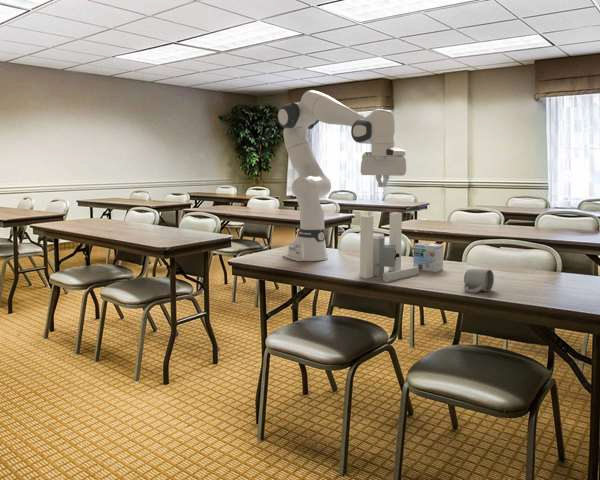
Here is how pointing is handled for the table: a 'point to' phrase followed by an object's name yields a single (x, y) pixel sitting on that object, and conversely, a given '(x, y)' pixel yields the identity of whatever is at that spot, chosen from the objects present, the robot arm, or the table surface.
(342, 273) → the table surface
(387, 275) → the bar
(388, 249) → the circuit breaker
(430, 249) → the light bulb box
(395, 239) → the post
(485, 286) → the ceramic mug
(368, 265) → the post
